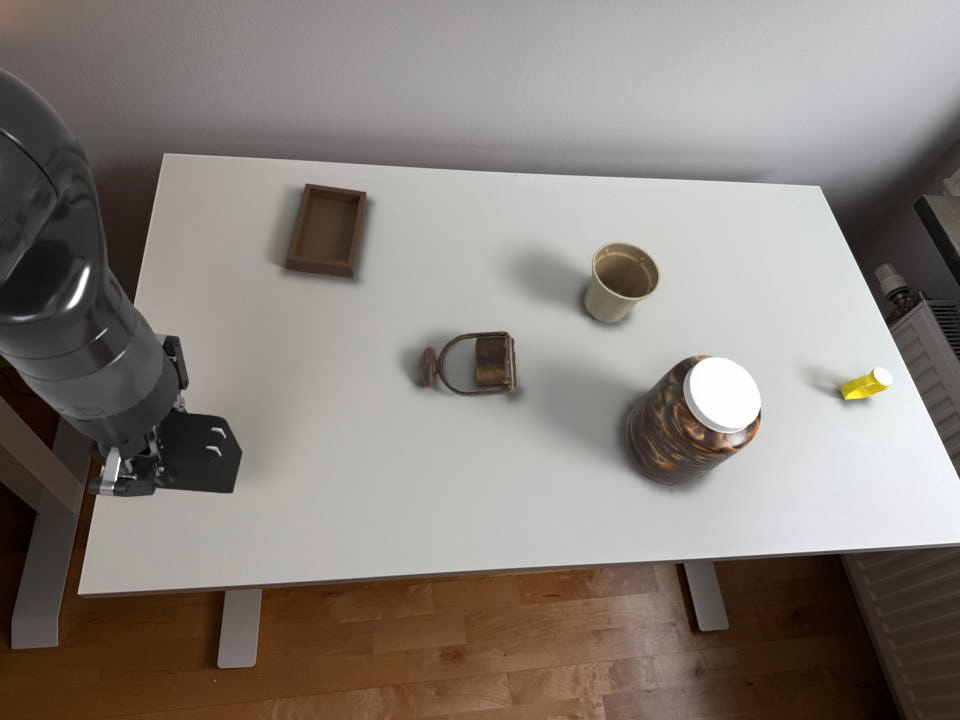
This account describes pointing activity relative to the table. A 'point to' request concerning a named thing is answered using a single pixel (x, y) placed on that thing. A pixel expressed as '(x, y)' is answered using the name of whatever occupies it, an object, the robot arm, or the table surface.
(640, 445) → the jar
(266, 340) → the table surface
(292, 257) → the tray
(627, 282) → the flower pot
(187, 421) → the electronic device
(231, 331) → the table surface
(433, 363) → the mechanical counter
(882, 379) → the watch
